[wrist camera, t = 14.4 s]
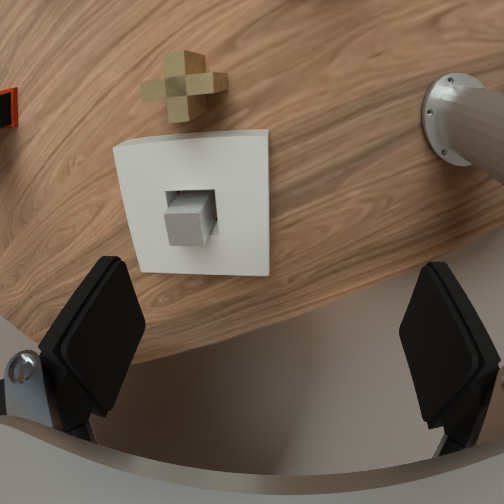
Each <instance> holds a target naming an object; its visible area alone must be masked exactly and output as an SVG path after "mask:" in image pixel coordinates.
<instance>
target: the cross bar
mask: <svg viewBox="0 0 504 504" xmlns="http://www.w3.org/2000/svg"><path fill="white" fill-rule="evenodd" d="M163 61H164V75H165V78H163V79H157V80H151V81H145V82H140V84H141V94H142V102H145V101H151V100H158V99H165V98H166V100H167V110H168V120H169V123H177V122H187V121H191V120H192V119H194V118H196V117H198V116H200V115H202V114H204V113H206V112H207V111H208V105H207V94H209V93H216V92H220V91H224V90H228V79H227V73H217V72H210V73H205V55H202V54H198V53H194V52H190V51H186V50H181V51H174V52H168V53H163Z"/></svg>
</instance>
